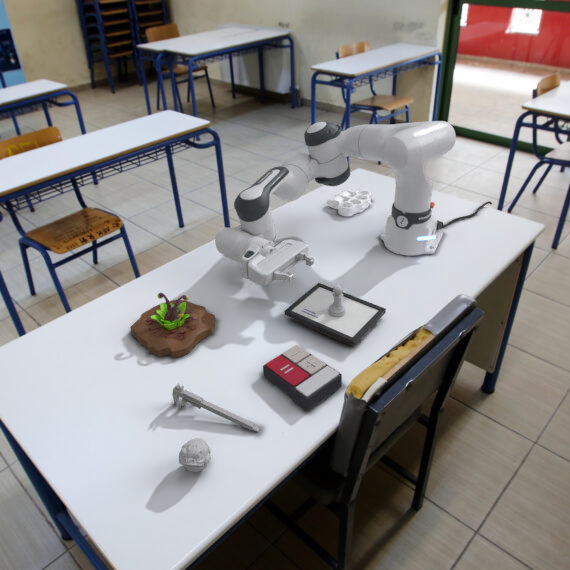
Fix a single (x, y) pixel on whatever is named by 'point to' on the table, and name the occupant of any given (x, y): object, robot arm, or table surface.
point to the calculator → (303, 376)
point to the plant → (173, 327)
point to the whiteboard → (343, 328)
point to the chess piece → (337, 303)
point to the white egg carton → (350, 202)
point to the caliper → (210, 407)
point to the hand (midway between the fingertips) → (302, 270)
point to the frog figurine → (195, 455)
